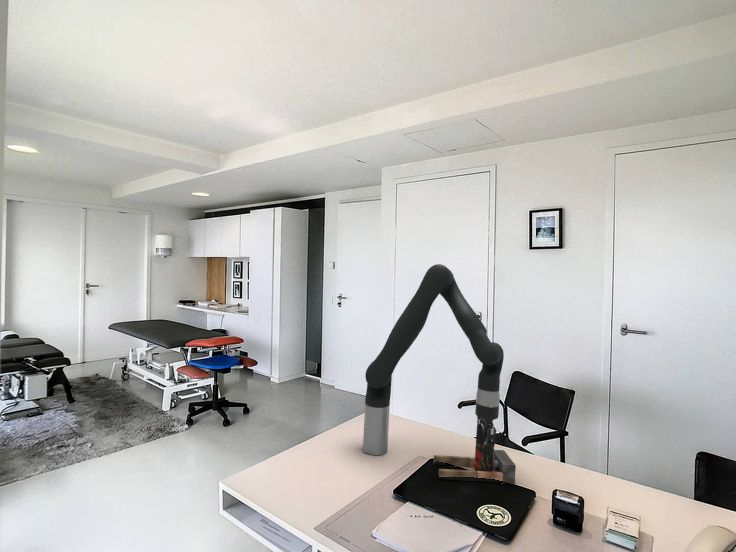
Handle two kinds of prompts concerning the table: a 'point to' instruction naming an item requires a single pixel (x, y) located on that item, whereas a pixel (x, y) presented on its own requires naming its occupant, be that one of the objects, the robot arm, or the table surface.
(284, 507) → the table surface
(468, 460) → the guide channel
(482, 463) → the deodorant
